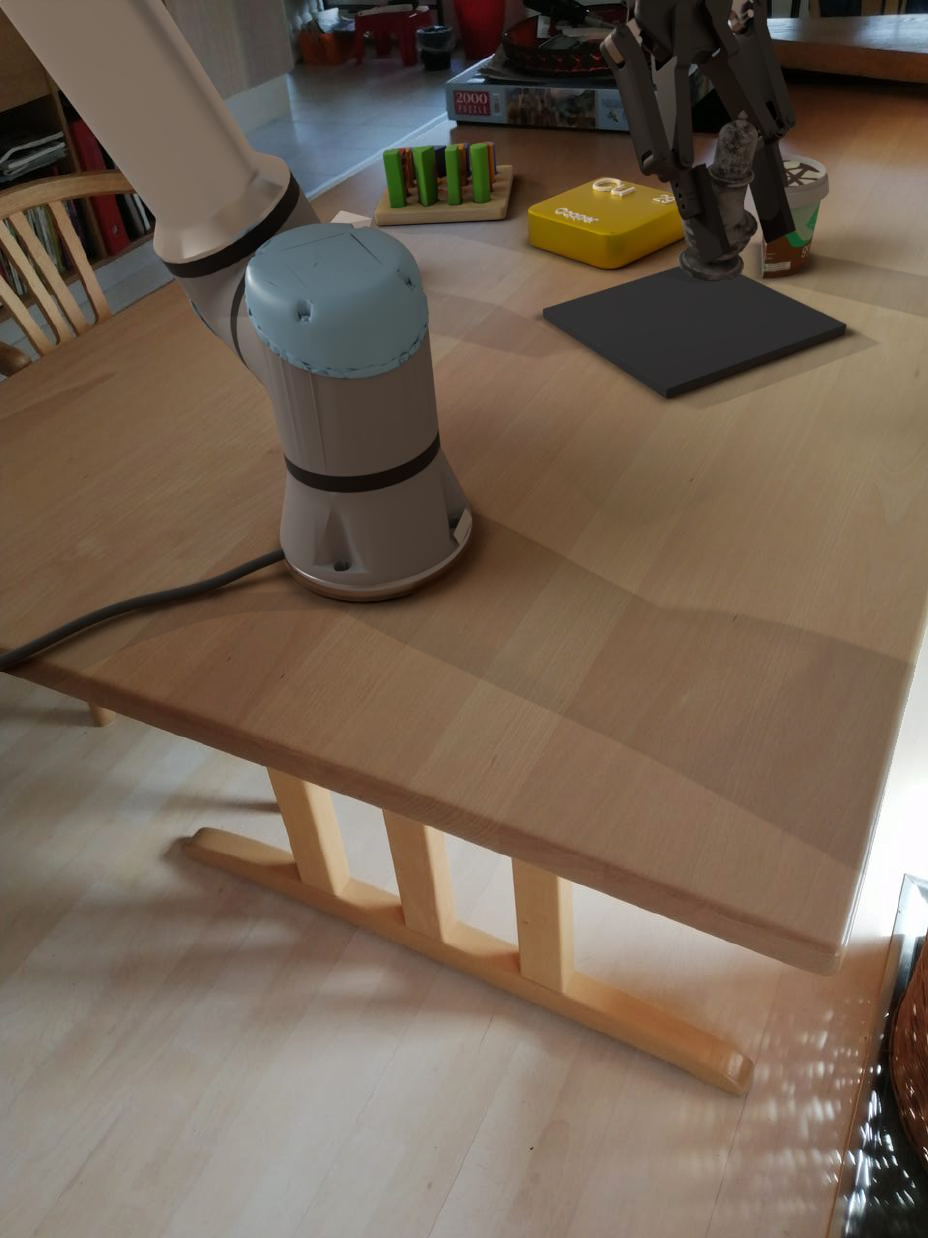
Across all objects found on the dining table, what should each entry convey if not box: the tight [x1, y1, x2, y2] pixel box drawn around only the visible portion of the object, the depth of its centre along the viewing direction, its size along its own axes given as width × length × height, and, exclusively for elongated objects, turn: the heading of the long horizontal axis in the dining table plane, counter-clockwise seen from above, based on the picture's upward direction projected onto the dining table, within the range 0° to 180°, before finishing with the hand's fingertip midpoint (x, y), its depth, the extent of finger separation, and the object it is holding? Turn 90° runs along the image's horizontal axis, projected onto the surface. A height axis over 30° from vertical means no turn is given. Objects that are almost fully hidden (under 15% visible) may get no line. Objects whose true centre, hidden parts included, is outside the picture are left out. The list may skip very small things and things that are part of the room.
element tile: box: [527, 176, 685, 270], centre depth 122 cm, size 15×15×5 cm
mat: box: [542, 265, 847, 399], centre depth 104 cm, size 22×22×1 cm
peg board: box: [374, 141, 514, 226], centre depth 136 cm, size 18×17×9 cm
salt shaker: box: [676, 110, 759, 282], centre depth 76 cm, size 6×6×12 cm
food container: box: [760, 153, 830, 279], centre depth 111 cm, size 12×6×10 cm, turn 168°
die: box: [329, 209, 381, 230], centre depth 117 cm, size 8×9×10 cm
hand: (749, 246), depth 76 cm, fingers closed on salt shaker, 5 cm apart
